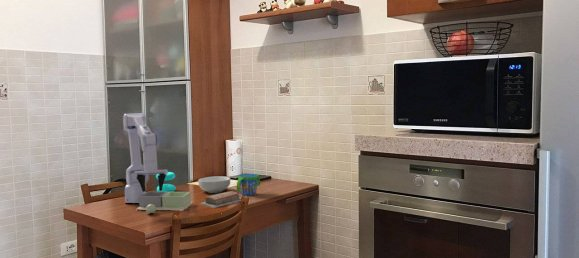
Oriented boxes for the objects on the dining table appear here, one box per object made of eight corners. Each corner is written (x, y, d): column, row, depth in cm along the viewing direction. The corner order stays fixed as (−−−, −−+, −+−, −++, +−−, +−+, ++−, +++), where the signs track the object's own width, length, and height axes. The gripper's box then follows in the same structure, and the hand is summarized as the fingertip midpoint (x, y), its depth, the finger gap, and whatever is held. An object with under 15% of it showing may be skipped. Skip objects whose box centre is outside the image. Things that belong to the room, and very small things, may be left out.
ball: (144, 214, 219) (143, 205, 219) (148, 212, 224) (147, 202, 223) (153, 215, 219) (153, 205, 218) (157, 212, 223) (157, 202, 223)
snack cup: (253, 190, 265) (253, 172, 264) (266, 193, 257) (266, 174, 256) (230, 195, 254) (230, 176, 253) (243, 198, 246) (243, 178, 245)
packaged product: (228, 189, 248) (242, 192, 242) (228, 199, 249) (242, 201, 242) (200, 196, 235) (213, 199, 228) (200, 206, 235) (214, 209, 229)
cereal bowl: (233, 188, 272) (233, 175, 271) (226, 195, 256) (226, 181, 255) (203, 188, 274) (203, 175, 273) (195, 195, 257) (194, 181, 257)
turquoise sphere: (170, 171, 274) (177, 173, 266) (171, 188, 275) (178, 191, 267) (153, 173, 268) (160, 175, 260) (154, 191, 269) (161, 194, 261)
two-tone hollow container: (136, 210, 227) (135, 197, 227) (148, 203, 241) (147, 191, 240) (182, 211, 225) (182, 198, 224) (192, 203, 238) (191, 191, 238)
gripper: (131, 162, 217) (133, 193, 217) (163, 160, 216) (165, 191, 216) (136, 160, 224) (138, 190, 224) (168, 159, 223) (170, 189, 224)
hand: (152, 190), depth 221 cm, fingers open, 7 cm apart
